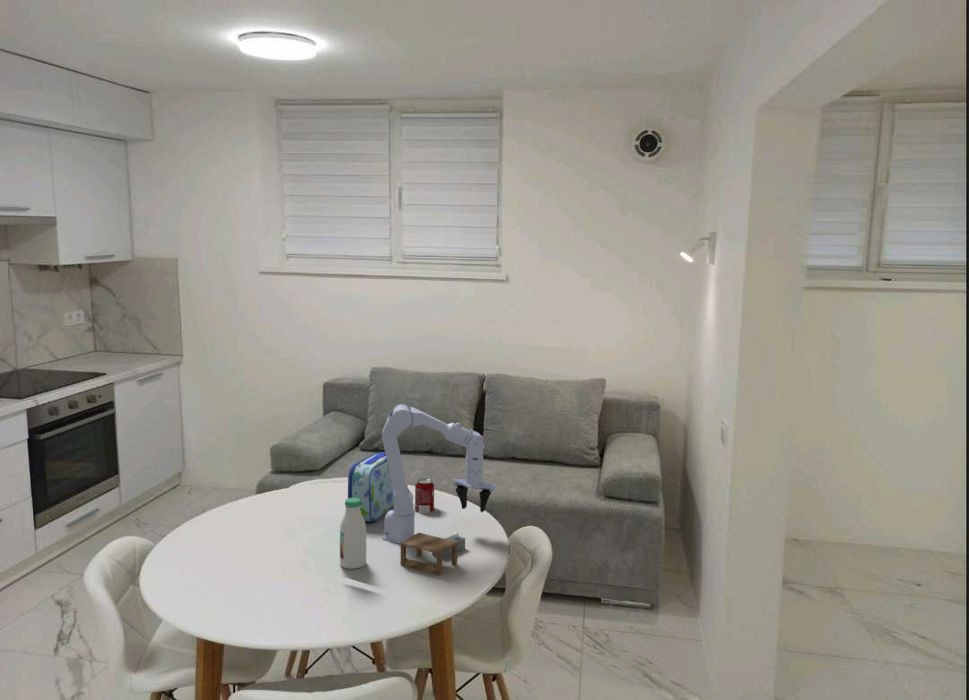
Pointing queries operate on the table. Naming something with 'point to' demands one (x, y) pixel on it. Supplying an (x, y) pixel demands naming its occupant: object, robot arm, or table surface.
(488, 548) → the table surface
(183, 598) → the table surface
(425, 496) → the soda can
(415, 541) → the wooden footstool
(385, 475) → the lunch box
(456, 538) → the grey rectangular block
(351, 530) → the milk bottle
